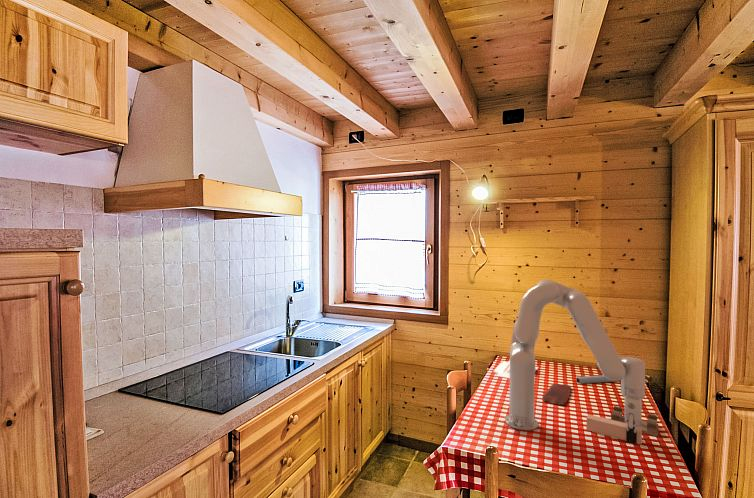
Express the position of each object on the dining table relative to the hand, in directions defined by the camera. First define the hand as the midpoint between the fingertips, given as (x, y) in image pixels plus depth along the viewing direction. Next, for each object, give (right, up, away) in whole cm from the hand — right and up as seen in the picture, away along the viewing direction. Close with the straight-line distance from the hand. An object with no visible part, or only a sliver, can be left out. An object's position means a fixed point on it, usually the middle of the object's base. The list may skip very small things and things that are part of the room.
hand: (631, 438), depth 148 cm
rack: (+8, 0, +11) cm, 14 cm away
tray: (-17, +1, +76) cm, 78 cm away
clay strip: (-5, 0, +4) cm, 6 cm away
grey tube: (+21, +1, +58) cm, 62 cm away
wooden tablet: (-12, +1, +45) cm, 47 cm away
